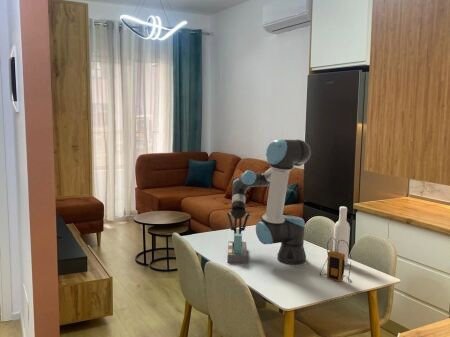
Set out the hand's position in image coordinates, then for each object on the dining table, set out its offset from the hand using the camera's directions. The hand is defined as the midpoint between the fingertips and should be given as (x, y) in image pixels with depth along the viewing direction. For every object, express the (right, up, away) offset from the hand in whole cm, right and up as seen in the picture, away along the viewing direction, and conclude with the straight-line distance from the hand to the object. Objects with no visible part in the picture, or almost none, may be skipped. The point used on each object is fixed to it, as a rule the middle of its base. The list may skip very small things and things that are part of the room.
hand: (237, 241), depth 234 cm
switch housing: (0, -8, +4) cm, 9 cm away
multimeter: (+47, -14, -23) cm, 55 cm away
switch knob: (0, -7, -2) cm, 7 cm away
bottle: (+53, -11, -3) cm, 55 cm away
